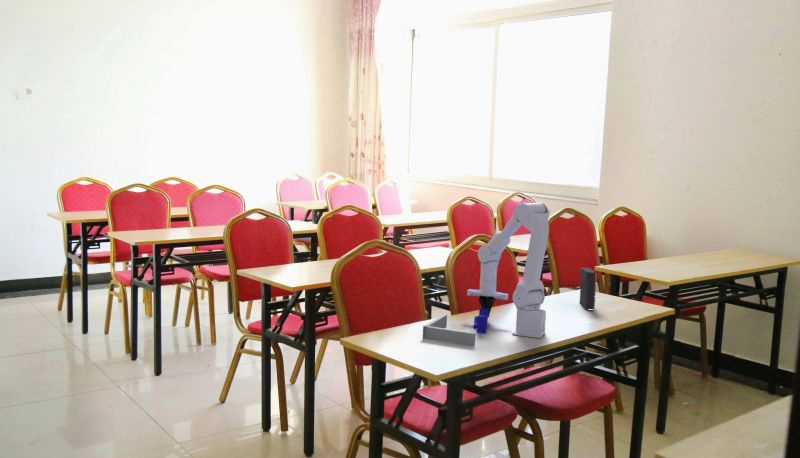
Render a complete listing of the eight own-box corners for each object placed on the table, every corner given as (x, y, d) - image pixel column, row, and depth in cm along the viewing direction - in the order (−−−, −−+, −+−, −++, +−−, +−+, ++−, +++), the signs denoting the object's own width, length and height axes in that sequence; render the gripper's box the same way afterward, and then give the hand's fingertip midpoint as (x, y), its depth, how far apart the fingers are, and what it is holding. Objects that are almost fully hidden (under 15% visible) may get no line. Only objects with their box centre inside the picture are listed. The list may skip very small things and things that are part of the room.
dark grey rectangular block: (595, 310, 283) (598, 272, 281) (584, 310, 283) (586, 272, 281) (588, 304, 294) (591, 267, 292) (577, 304, 294) (580, 267, 292)
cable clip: (474, 324, 257) (475, 307, 256) (487, 325, 256) (488, 308, 255) (472, 333, 245) (472, 315, 244) (485, 334, 244) (486, 316, 244)
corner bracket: (491, 332, 246) (491, 320, 246) (473, 346, 229) (474, 333, 228) (443, 325, 253) (443, 314, 252) (422, 338, 236) (423, 326, 235)
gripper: (511, 280, 260) (509, 317, 262) (472, 275, 266) (470, 312, 268) (505, 283, 254) (503, 321, 255) (466, 278, 259) (464, 316, 261)
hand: (486, 317), depth 261 cm, fingers closed
